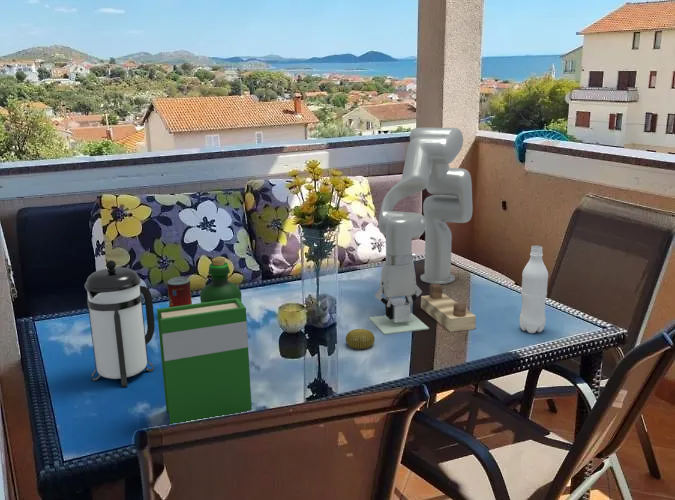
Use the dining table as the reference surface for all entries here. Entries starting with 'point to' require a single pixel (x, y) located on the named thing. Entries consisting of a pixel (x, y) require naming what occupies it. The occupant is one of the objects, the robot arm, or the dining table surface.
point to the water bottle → (534, 292)
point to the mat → (397, 325)
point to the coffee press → (119, 322)
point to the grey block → (400, 310)
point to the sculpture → (360, 338)
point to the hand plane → (447, 310)
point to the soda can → (179, 291)
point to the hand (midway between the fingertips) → (398, 316)
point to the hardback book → (205, 359)
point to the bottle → (219, 283)
